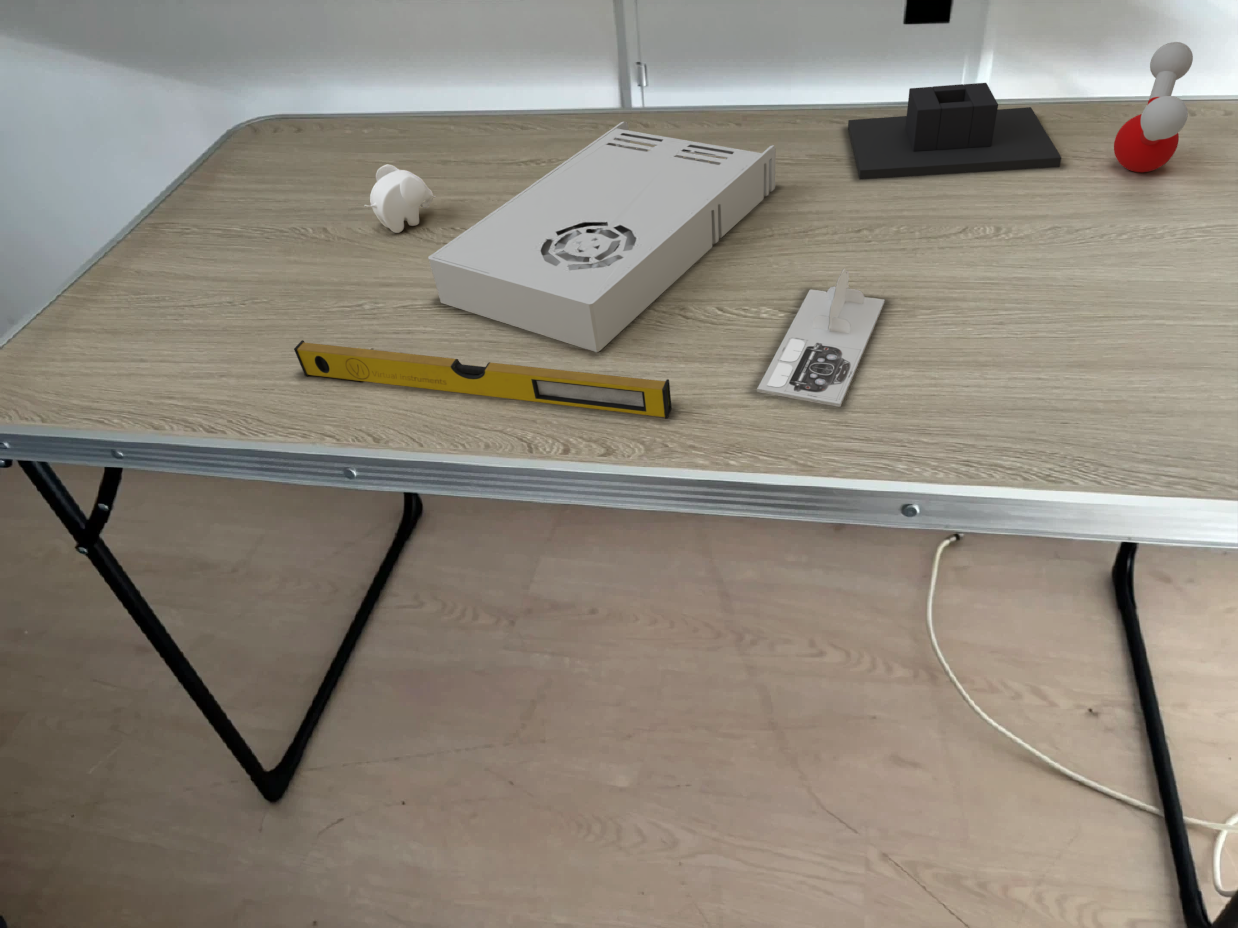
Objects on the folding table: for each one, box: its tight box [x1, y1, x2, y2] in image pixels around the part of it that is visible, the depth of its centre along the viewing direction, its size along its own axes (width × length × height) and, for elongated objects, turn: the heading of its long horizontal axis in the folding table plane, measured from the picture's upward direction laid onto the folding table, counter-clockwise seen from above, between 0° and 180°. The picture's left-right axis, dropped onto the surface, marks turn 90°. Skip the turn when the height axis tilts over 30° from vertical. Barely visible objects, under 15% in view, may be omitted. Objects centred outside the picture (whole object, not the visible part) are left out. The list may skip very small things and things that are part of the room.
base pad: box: [847, 106, 1062, 181], centre depth 100 cm, size 20×13×4 cm, turn 85°
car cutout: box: [756, 267, 886, 408], centre depth 75 cm, size 15×7×4 cm, turn 156°
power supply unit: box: [427, 121, 777, 353], centre depth 92 cm, size 19×33×5 cm, turn 146°
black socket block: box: [906, 82, 999, 151], centre depth 99 cm, size 8×6×4 cm
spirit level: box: [293, 339, 673, 420], centre depth 76 cm, size 33×1×3 cm, turn 72°
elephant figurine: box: [364, 163, 437, 234], centre depth 100 cm, size 7×8×6 cm
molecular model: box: [1113, 41, 1194, 173], centre depth 90 cm, size 18×6×10 cm, turn 154°
